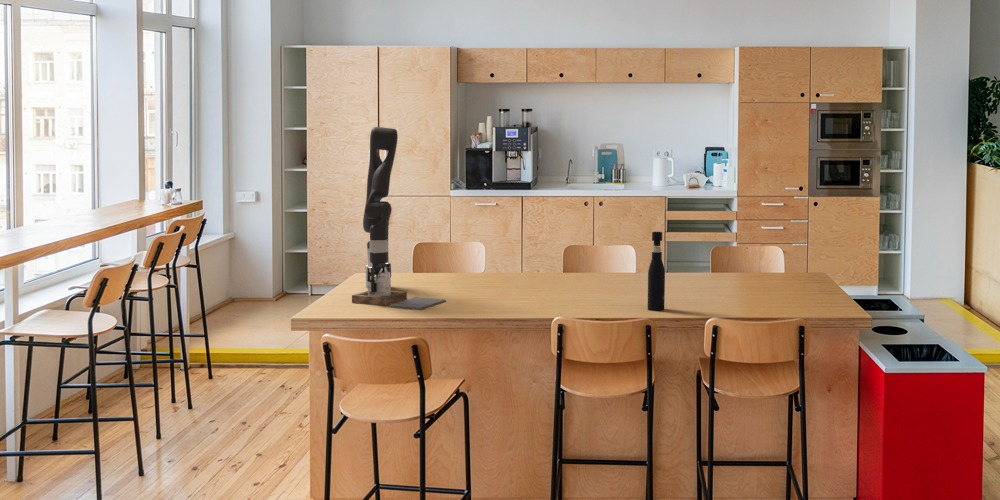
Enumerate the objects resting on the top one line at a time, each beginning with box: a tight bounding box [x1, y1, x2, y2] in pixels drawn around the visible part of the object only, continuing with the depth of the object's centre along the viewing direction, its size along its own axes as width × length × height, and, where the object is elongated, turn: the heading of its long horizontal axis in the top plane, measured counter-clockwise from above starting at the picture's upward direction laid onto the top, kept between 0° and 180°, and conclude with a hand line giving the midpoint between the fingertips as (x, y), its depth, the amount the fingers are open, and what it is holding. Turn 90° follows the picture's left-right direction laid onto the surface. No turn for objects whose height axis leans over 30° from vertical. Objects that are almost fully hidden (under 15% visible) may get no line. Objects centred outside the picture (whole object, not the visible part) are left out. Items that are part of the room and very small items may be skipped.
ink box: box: [367, 272, 392, 297], centre depth 421 cm, size 8×5×12 cm, turn 79°
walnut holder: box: [351, 290, 408, 306], centre depth 421 cm, size 16×16×3 cm
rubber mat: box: [389, 296, 447, 311], centre depth 414 cm, size 14×20×1 cm
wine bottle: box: [647, 231, 666, 312], centre depth 399 cm, size 6×6×30 cm
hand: (379, 290), depth 421 cm, fingers open, 8 cm apart
